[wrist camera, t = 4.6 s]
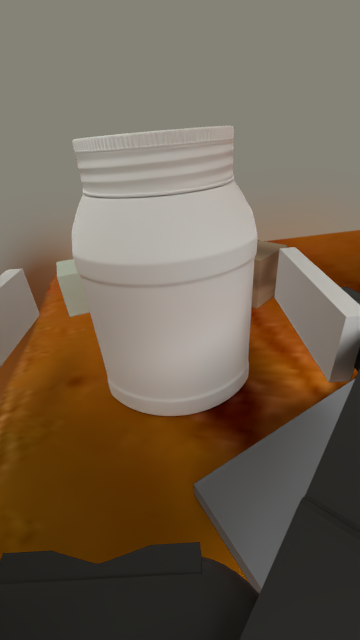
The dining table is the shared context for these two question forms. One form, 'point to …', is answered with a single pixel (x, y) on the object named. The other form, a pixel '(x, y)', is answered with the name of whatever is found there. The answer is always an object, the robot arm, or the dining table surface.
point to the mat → (268, 486)
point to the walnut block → (265, 272)
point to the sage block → (72, 288)
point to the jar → (166, 265)
